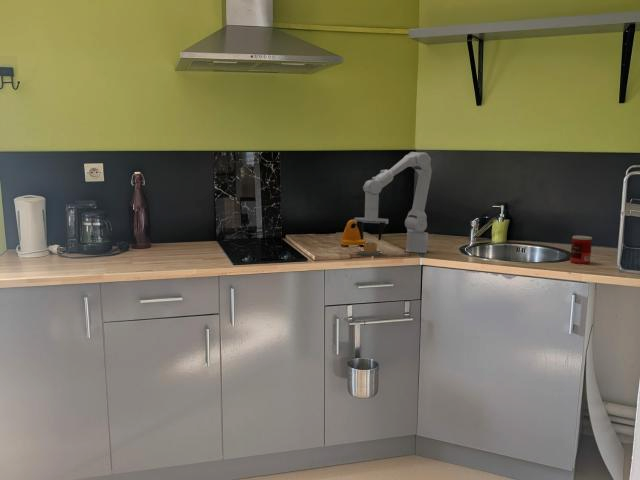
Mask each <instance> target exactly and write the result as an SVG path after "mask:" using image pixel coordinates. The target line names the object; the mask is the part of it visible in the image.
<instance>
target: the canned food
mask: <svg viewBox="0 0 640 480" xmlns="http://www.w3.org/2000/svg"><path fill="white" fill-rule="evenodd" d="M592 244H593V237H592V236H587V235H573V236H572V237H571V248H570V257H569V258H570V259H569V260H570V263H572V264H574V265H581V264H586V265H589V264H590V263H591V254H592Z"/></svg>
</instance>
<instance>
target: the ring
mask: <svg viewBox="0 0 640 480" xmlns="http://www.w3.org/2000/svg"><path fill="white" fill-rule="evenodd" d="M377 245H378V244H377V243H376V242H373V244H368V242H366V243H364V246H363V249H364V252H368V253H374V252H376V251H377V247H378V246H377Z"/></svg>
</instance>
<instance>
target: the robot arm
mask: <svg viewBox="0 0 640 480" xmlns="http://www.w3.org/2000/svg"><path fill="white" fill-rule="evenodd" d="M431 161H432V158H431V157H430V155H429V154H428V153H427V152H422V151H421V152H416V151H410V152H409V153H408V154H406V155H404V157H402V159H400V160H399V161H398V162H396V164H394V165H393V166H391V168H390V169H381V170H380V171H379V172H380V173H378V174H377V175H376V176H372V177H371V179H369V180H366V181H365V183H364V185H363V186H362V190H363V192H364V194H365V195H364V197H365V198H364V217H354V218H353V220H354V222H357V224H355V226H356V225H357V227H358V229H359V232H360V236H361V239H363V238H364V224H366V223H367V224H368V223H369V224H378V238H377V240H378V241H381V239H382V235H383V232H384V230H385V228H386V225H388V224H389V218H383V217H382V218H381V217H379V201H380V200H379V199H380V197H379V194H380V193H381V191H382V189H383V188H384V187H386V186H387V185H388V184H390V183H391V182H392V181H393V180H394V176H396V175H397V174H399V173H401V172H402V171H404V170H406V169H407V168H409V167H411V168H413V170H415V171H416V172H417V174H418V175H417V176H418V177H417V183H416V187H415V192H414V197H413V203H412V206H411V207H412V208H411V209H410V210H409V211H408V213H407V216H406V218H405V220H404V226H405V228H406V231H407V232H406V249H405V250H404V252H405V251H406V252H405V253H418V254H427V252H428V250H429V232H425V230H427V228H428V227H427V226H428V222H427V217H428V216H427V214H426V212H425V210H426V209H425V208H426V204H427V199H428V193H429V188H430V184H431V179H432V173H433V170H432V165H431V163H432V162H431Z"/></svg>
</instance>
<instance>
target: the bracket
mask: <svg viewBox="0 0 640 480" xmlns="http://www.w3.org/2000/svg"><path fill="white" fill-rule="evenodd" d="M353 224H355V227H353V228H352V225H353ZM356 224H357V222H354V219H350V220H348V221H347V223H346V225H345V228H344V231H343V233H342V235H341V238H340V244H341V243H342V244H341V245H342V246H347V245H363V244H364V243H367V242H366V240H365V238H364V237H363V239H361V236H360V232H359V229H358V227H357V225H356Z"/></svg>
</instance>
